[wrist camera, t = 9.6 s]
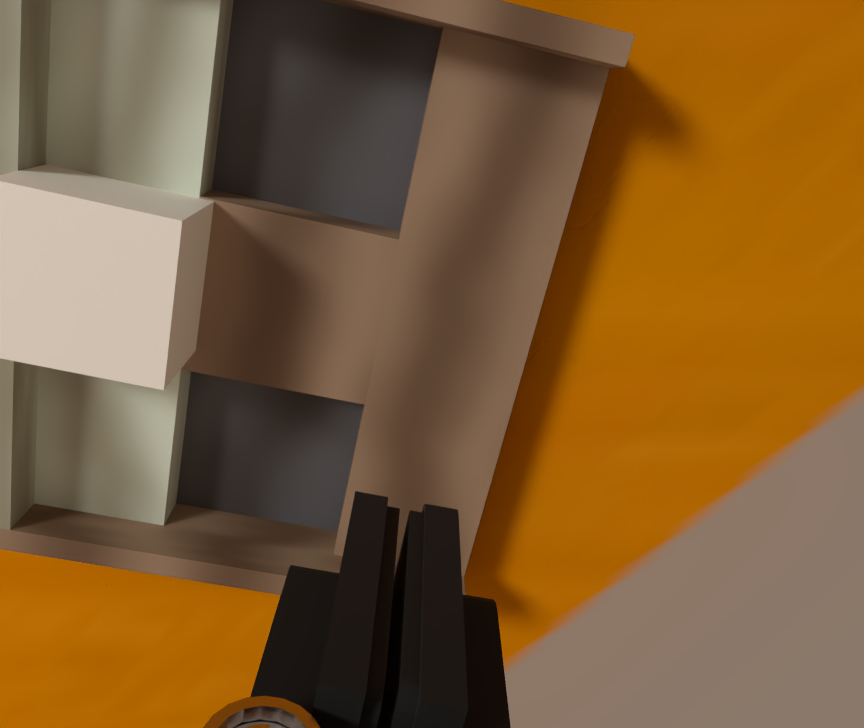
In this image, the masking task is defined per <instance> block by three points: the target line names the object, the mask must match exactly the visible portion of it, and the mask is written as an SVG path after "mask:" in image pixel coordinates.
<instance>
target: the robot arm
mask: <svg viewBox="0 0 864 728" xmlns="http://www.w3.org/2000/svg"><path fill="white" fill-rule="evenodd" d="M387 505H388V497H386V496H380V495H374V494H369V493H363V492H358V491H355V495H354V500H353V505H352V511H351V516H350V521H349V526H348V531H347V536H346V541H345V546H344V551H343V557H342V562H341V567H340V572H339V573H335V572H329V571H323V570H317V569H312V568H306V567H300V566H294V565H290V567H289V570H288V573H287V576H286V580H285V583H284V586H283V590H282V593H281V596H280V600H279V603H278V606H277V610H276V613H275V616H274V620H273V623H272V626H271V630H270V633H269V636H268V640H267V643H266V647H265V650H264V653H263V657H262V660H261V663H260V667H259V670H258V673H257V677H256V680H255V683H254V687H253V690H252V693H251V697H247V698H244V699H241V700H238V701H236V702H233V703H230V704H228V705H227V706H225V707H224V708H222V709H221V710H219V711H218V712H217V713H215V714H214V715H213V716H212V717H211V718H210V720H209V721H208V722H207V723H206V725H205V726H204V727H203V728H510V719H509V710H508V702H507V694H506V684H505V675H504V666H503V658H502V649H501V640H500V631H499V622H498V613H497V607H496V603H495V601H494V600H492V599H486V598H480V597H474V596H469V595H463V592H462V572H461V552H460V532H459V513H458V510H457V509H452V508H447V507H441V506H436V505H430V504H424V506H423V509H422V512H418V511H412V510H410V512H409V515H408V519H407V523H406V528H405V532H404V537H403V541H402V545H401V550H400V554H399V559H398V563H397V568H396V572H395V561H396V549H397V537H398V526H399V514H400V508H395V507H390V506H387ZM394 573H395V576H394Z"/></svg>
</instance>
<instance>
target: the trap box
mask: <svg viewBox="0 0 864 728" xmlns="http://www.w3.org/2000/svg"><path fill="white" fill-rule="evenodd" d="M634 36H635V34H631V33H627V32H623V31H619V30H615V29H611V28H607V27H603V26H599V25H595V24H591V23H587V22H583V21H579V20H575V19H572V18H568V17H564V16H560V15H556V14H552V13H548V12H544V11H540V10H536V9H532V8H528V7H524V6H520V5H516V4H512V3H508V2H504V1H500V0H0V175H2V174H7V173H11V172H15V171H20V170H24V169H28V168H33V167H37V166H41V165H46V164H48V165H53V166H57V167H62V168H66V169H71V170H75V171H80V172H84V173H89V174H93V175H98V176H102V177H106V178H111V179H115V180H120V181H124V182H129V183H133V184H138V185H142V186H147V187H151V188H156V189H160V190H165V191H169V192H174V193H178V194H183V195H187V196H192V197H196V198H201V199H205V200H210V201H214V206H213V214H212V222H211V230H210V238H209V246H208V255H207V263H206V271H205V279H204V287H203V295H202V303H201V311H200V320H199V328H198V336H197V344H196V351H195V352H194V353H193V354H192V356H191V357H190V358H189V359H188V361H187V362H186V363H185V364H184V366H183V367H182V368H181V369H180V371H179V372H178V373H177V374H176V376H175V377H174V378H173V379H172V381H171V382H170V383H169V384H168V386H167V387H166V388H165V389H164V390H160V389H155V388H150V387H145V386H139V385H134V384H129V383H124V382H119V381H114V380H109V379H104V378H98V377H93V376H88V375H83V374H78V373H73V372H68V371H63V370H57V369H52V368H47V367H42V366H37V365H32V364H27V363H22V362H16V361H11V360H6V359H1V358H0V549H4V550H10V551H16V552H22V553H28V554H34V555H40V556H46V557H52V558H59V559H65V560H71V561H77V562H83V563H89V564H95V565H101V566H107V567H114V568H120V569H126V570H132V571H138V572H144V573H150V574H156V575H162V576H169V577H175V578H181V579H187V580H193V581H199V582H205V583H211V584H218V585H224V586H230V587H236V588H242V589H248V590H254V591H260V592H266V593H273V594H279V595H281V593H282V590H283V586H284V583H285V580H286V576H287V573H288V570H289V567H290V565H294V566H300V567H306V568H312V569H317V570H323V571H329V572H335V573H339V572H340V567H341V562H342V557H343V551H344V546H345V541H346V536H347V531H348V526H349V521H350V516H351V511H352V505H353V500H354V495H355V491H358V492H363V493H369V494H374V495H380V496H386V497H388V505H387V506H390V507H395V508H400V514H399V526H398V537H397V549H396V561H395V572H396V568H397V563H398V559H399V554H400V550H401V545H402V541H403V537H404V532H405V528H406V523H407V519H408V515H409V512H410V510H412V511H418V512H422V509H423V506H424V504H430V505H436V506H441V507H447V508H452V509H457V510H458V513H459V532H460V552H461V572H462V592H463V595H466V592H465V582H464V575H465V571H466V568H467V564H468V561H469V557H470V554H471V551H472V547H473V544H474V540H475V537H476V533H477V530H478V526H479V523H480V519H481V516H482V512H483V509H484V505H485V502H486V498H487V495H488V491H489V488H490V484H491V481H492V477H493V474H494V470H495V467H496V463H497V460H498V456H499V453H500V450H501V446H502V443H503V439H504V436H505V432H506V429H507V425H508V422H509V418H510V415H511V411H512V408H513V404H514V401H515V397H516V394H517V390H518V387H519V383H520V380H521V376H522V373H523V369H524V366H525V362H526V359H527V355H528V352H529V349H530V345H531V342H532V338H533V335H534V331H535V328H536V324H537V321H538V317H539V314H540V310H541V307H542V303H543V300H544V296H545V293H546V289H547V286H548V282H549V279H550V275H551V272H552V268H553V265H554V261H555V258H556V254H557V251H558V248H559V244H560V241H561V237H562V234H563V230H564V227H565V223H566V220H567V216H568V213H569V209H570V206H571V202H572V199H573V195H574V192H575V188H576V185H577V181H578V178H579V174H580V171H581V167H582V164H583V160H584V157H585V153H586V150H587V147H588V143H589V140H590V136H591V133H592V129H593V126H594V122H595V119H596V115H597V112H598V108H599V105H600V101H601V98H602V94H603V91H604V87H605V84H606V80H607V77H608V73H609V70H610V68H623V67H626V63H627V60H628V57H629V53H630V50H631V46H632V43H633V40H634ZM394 576H395V573H394Z"/></svg>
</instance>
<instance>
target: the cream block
mask: <svg viewBox="0 0 864 728" xmlns="http://www.w3.org/2000/svg"><path fill="white" fill-rule="evenodd" d="M213 206H214V201H210V200H205V199H201V198H196V197H192V196H187V195H183V194H178V193H174V192H169V191H165V190H160V189H156V188H151V187H147V186H142V185H138V184H133V183H129V182H124V181H120V180H115V179H111V178H106V177H102V176H98V175H93V174H89V173H84V172H80V171H75V170H71V169H66V168H62V167H57V166H53V165H48V164H46V165H41V166H37V167H33V168H28V169H24V170H20V171H15V172H11V173H7V174H2V175H0V358H1V359H6V360H11V361H16V362H22V363H27V364H32V365H37V366H42V367H47V368H52V369H57V370H63V371H68V372H73V373H78V374H83V375H88V376H93V377H98V378H104V379H109V380H114V381H119V382H124V383H129V384H134V385H139V386H145V387H150V388H155V389H160V390H164V389H165V388H166V387H167V386H168V384H169V383H170V382H171V381H172V379H173V378H174V377H175V376H176V374H177V373H178V372H179V371H180V369H181V368H182V367H183V366H184V364H185V363H186V362H187V361H188V359H189V358H190V357H191V356H192V354H193V353H194V352H195V351H196V344H197V336H198V328H199V320H200V311H201V303H202V295H203V287H204V279H205V271H206V263H207V255H208V246H209V238H210V230H211V222H212V214H213Z"/></svg>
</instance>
